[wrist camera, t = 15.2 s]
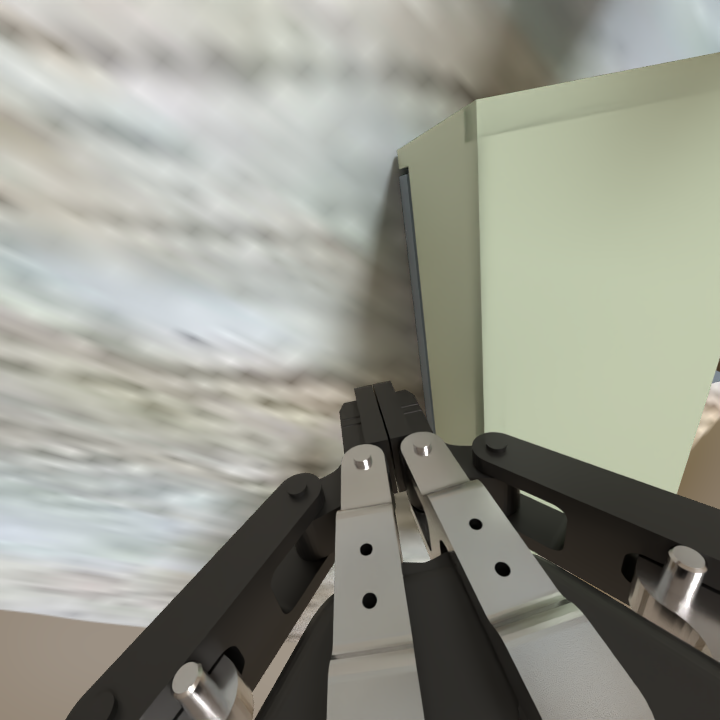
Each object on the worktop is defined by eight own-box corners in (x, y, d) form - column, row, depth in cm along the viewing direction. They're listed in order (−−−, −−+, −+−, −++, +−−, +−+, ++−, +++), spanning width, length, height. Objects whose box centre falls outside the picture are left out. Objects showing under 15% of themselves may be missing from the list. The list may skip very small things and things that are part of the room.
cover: (430, 446, 24) (487, 566, 16) (396, 150, 16) (476, 99, 8) (552, 418, 24) (667, 522, 16) (577, 114, 16) (822, 32, 9)
